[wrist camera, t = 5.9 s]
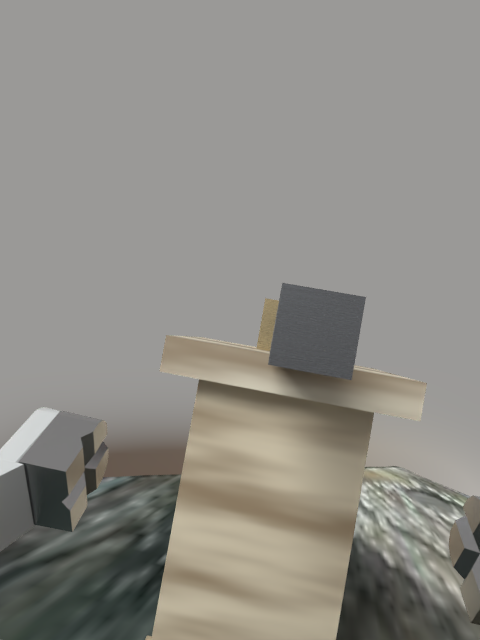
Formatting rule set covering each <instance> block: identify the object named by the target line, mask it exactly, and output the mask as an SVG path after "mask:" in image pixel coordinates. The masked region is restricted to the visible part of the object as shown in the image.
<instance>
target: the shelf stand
mask: <svg viewBox="0 0 480 640" xmlns="http://www.w3.org/2000/svg"><path fill="white" fill-rule="evenodd" d="M269 354H270V351H266V350H261V349H257V347H253V346H247V345H241V344H236V343H230V342H225V341H220V340H214V339H208V338H203V337H188V336H169V335H166V339H165V345H164V350H163V355H162V361H161V366H160V372H165V373H170V374H175V375H181V376H186V377H192V378H196V379H199V383H198V389H197V394H196V400H195V406H194V411H193V416H192V421H191V427H190V432H189V438H188V444H187V449H186V454H185V460H184V465H183V470H182V476H181V481H180V487H179V492H178V498H177V503H176V509H175V514H174V519H173V525H172V530H171V536H170V541H169V547H168V552H167V558H166V563H165V568H164V574H163V579H162V585H161V590H160V596H159V601H158V607H157V612H156V617H155V623H154V628H153V634H152V637H151V636H147V637H146V639H145V640H336V636H337V630H338V624H339V618H340V612H341V606H342V600H343V594H344V588H345V582H346V576H347V570H348V564H349V558H350V552H351V547H352V541H353V535H354V529H355V523H356V517H357V511H358V505H359V499H360V493H361V487H362V481H363V475H364V469H365V463H366V457H367V451H368V445H369V439H370V434H371V428H372V421H373V415H374V413H379V414H384V415H390V416H395V417H400V418H405V419H411V420H416V421H421V416H422V409H423V403H424V396H425V391H426V385H427V383H424V382H421V381H417V380H413V379H409V378H406V377H402V376H398V375H395V374H391V373H387V372H383V371H380V370H376V369H373V368H367V367H361V366H356V365H354V369H353V375H352V380H348V379H342V378H337V377H331V376H326V375H321V374H315V373H310V372H304V371H299V370H294V369H288V368H283V367H278V366H272V365H268V361H269Z"/></svg>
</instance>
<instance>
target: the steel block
mask: <svg viewBox="0 0 480 640" xmlns="http://www.w3.org/2000/svg"><path fill="white" fill-rule="evenodd" d="M365 299H366V297H361V296H356V295H350V294H344V293H338V292H332V291H327V290H321V289H314V288H309V287H303V286H297V285H291V284H285V283H283V284H282V288H281V294H280V299H279V301H277V300H271V299H265V305H264V310H263V315H262V321H261V326H260V332H259V338H258V343H257V349H261V350H266V351H270V354H269V361H268V365H272V366H278V367H283V368H288V369H294V370H299V371H304V372H310V373H315V374H321V375H326V376H331V377H337V378H342V379H348V380H352V375H353V369H354V363H355V357H356V351H357V345H358V340H359V334H360V328H361V321H362V316H363V310H364V304H365Z"/></svg>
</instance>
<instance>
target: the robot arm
mask: <svg viewBox="0 0 480 640" xmlns="http://www.w3.org/2000/svg"><path fill="white" fill-rule="evenodd" d="M106 435H107V423H106V422H105V421H103V420H99V419H95V418H91V417H86V416H82V415H78V414H73V413H69V412H65V411H63V412H62V411H58V410H54V409H50V408H46V407H42V408H40V409H38V410H36V411H35V412H34V413H33V414H32V415H31V416H30V417H29V418H28V420H27V421H26V422H25V423H24V424H23V425H22V426H21V427H20V428H19V429H18V431H17V432H16V433H15V434H14V435H13V436H12V437H11V438H10V439H9V440H8V441H7V443H6V444H5V445H4V446H3V447H2V448H1V449H0V551H2V550H3V549H4V548H6V547H7V546H8V545H10V544H11V543H13V542H14V541H15V540H17V539H18V538H20V537H21V536H22V535H24V534H25V533H26V532H28V531H29V530H31V529H32V528H33V527H34V524H35V525H40V526H45V527H50V528H55V529H60V530H65V531H70V532H73V530H74V528H75V526H76V525H77V523H78V521H79V519H80V518H81V516H82V514H83V512H84V511H85V509H86V507H87V495H88V494H89V493H91V492H93V491H94V490H96V489H97V488H98V486H99V484H100V482H101V480H102V478H103V475H104V472H105V469H106V466H107V460H108V448H107V446H106V445H105V444H104V442H103V440H104V438H105V437H106ZM463 509H464V511H465V514H466V516H464V517H462V518H460V519H458V520H456V521H455V523H454V525H453V527H452V529H451V531H450V538H449V550H450V556H451V560H452V563H453V567H454V568H455V569H456V570H457V571H458V573H459V574H460V575H461V576H462V577H463V578H464V581H463V583H462V585H461V587H460V590H461V593H462V597H463V600H464V603H465V606H466V609H467V613H468V616H469V619H470V622H471V623H474V624H478V625H480V497H478V496H471V497H470V498H468V499H467V501H466V502H465V504H464V506H463Z"/></svg>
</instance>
